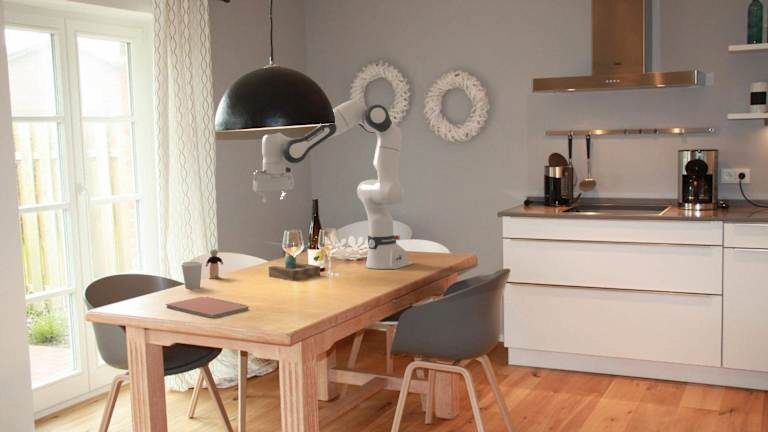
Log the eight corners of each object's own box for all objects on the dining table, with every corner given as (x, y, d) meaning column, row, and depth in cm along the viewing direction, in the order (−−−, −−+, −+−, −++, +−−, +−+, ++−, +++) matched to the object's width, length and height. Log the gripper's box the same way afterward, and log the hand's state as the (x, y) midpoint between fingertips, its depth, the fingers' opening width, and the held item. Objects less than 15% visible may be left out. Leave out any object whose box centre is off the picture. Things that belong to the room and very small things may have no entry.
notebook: (251, 310, 285) (251, 305, 285) (212, 320, 272) (212, 314, 272) (204, 300, 303) (204, 295, 303) (165, 309, 290) (165, 303, 290)
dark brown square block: (296, 271, 357) (296, 262, 357) (320, 275, 346) (320, 266, 346) (269, 276, 347) (268, 266, 346) (292, 280, 336) (292, 271, 335)
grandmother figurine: (209, 279, 341) (208, 249, 340) (204, 278, 344) (203, 248, 343) (225, 277, 346) (224, 247, 345) (220, 275, 349) (219, 246, 348)
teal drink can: (291, 273, 351) (291, 250, 350) (298, 275, 348) (297, 252, 347) (283, 275, 348) (282, 252, 347) (290, 276, 345) (289, 253, 344)
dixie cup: (177, 289, 322) (176, 264, 321) (189, 285, 330) (188, 260, 329) (195, 290, 319) (194, 265, 318) (207, 286, 327) (206, 261, 326)
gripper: (258, 171, 346) (259, 203, 348) (295, 168, 361) (296, 199, 362) (249, 170, 351) (250, 202, 352) (286, 168, 365) (287, 198, 367)
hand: (274, 201), depth 357 cm, fingers open, 8 cm apart
